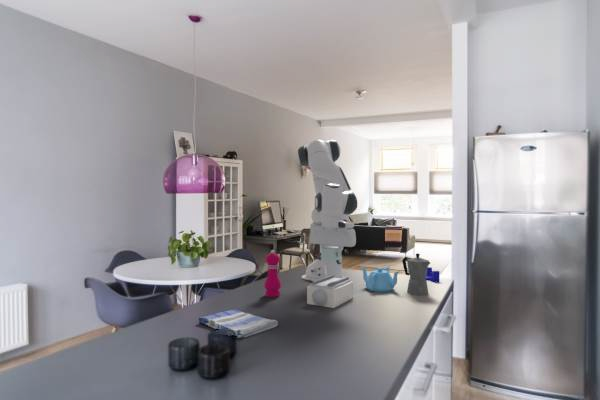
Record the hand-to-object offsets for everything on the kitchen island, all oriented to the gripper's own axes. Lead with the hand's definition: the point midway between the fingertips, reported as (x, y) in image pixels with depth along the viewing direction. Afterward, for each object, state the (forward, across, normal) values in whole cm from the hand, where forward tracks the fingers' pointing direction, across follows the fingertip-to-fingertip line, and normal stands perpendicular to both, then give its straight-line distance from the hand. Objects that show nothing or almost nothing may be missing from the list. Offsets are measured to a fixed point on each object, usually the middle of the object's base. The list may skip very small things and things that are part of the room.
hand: (331, 256), depth 169 cm
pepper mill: (+19, -26, -5) cm, 33 cm away
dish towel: (+20, -13, -44) cm, 50 cm away
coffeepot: (+19, +26, +32) cm, 45 cm away
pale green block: (+2, 0, -1) cm, 2 cm away
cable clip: (+19, +25, +64) cm, 71 cm away
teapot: (+19, +10, +31) cm, 37 cm away
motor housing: (+19, 0, 0) cm, 19 cm away
